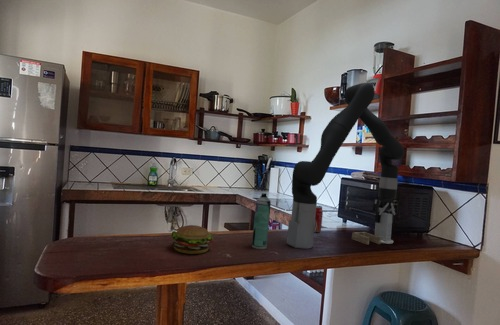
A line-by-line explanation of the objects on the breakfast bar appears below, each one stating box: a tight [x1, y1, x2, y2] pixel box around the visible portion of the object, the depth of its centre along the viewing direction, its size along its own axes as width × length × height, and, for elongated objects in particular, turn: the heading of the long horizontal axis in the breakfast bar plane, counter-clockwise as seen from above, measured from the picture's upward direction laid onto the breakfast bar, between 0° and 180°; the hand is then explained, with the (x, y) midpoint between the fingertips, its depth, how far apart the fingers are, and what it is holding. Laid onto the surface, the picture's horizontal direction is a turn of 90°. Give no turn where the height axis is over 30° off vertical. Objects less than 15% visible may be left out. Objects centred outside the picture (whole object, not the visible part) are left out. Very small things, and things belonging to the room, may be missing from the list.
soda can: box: [314, 205, 324, 233], centre depth 153 cm, size 7×7×12 cm
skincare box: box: [374, 211, 393, 241], centre depth 146 cm, size 6×4×12 cm
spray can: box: [251, 192, 272, 250], centre depth 118 cm, size 6×6×20 cm
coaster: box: [380, 239, 394, 245], centre depth 146 cm, size 9×9×1 cm
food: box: [170, 224, 214, 255], centre depth 109 cm, size 14×14×8 cm
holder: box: [351, 231, 381, 245], centre depth 142 cm, size 8×9×3 cm
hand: (384, 222), depth 146 cm, fingers open, 8 cm apart
